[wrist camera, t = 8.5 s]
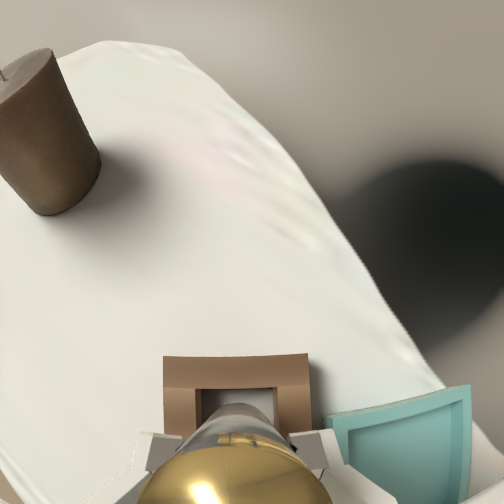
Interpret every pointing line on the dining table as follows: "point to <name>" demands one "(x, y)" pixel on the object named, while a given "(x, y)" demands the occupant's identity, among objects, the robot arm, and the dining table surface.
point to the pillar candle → (43, 136)
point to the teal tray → (411, 445)
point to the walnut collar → (235, 377)
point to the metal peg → (234, 466)
